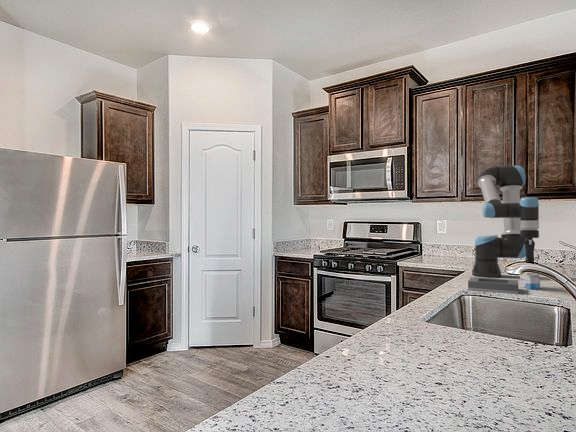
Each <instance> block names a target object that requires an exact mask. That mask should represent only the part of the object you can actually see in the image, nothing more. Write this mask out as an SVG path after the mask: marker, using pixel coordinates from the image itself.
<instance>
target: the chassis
mask: <svg viewBox="0 0 576 432" xmlns="http://www.w3.org/2000/svg"><path fill="white" fill-rule="evenodd" d="M467 290H468V291H479V292H480V291H481V292H492V293H502V294H504V293H505V294H515V295H516V294H517V295H519V280H518V279H517V280H516V279H504V278H492V277H478V276H475V277H474V276H471V277H470V278H469V279H468V281H467Z"/></svg>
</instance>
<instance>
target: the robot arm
mask: <svg viewBox="0 0 576 432" xmlns="http://www.w3.org/2000/svg"><path fill="white" fill-rule="evenodd" d="M526 179H527V177H526V172H525V168H523V166H521V165H514V164H513V165H500V166H496V165H495V166H489V167H486V168H485V169H484V170H482V171H481V172H480V173H479V175H478V177H477V180H476V181H477V186H478V188H479V189H481V194H482V197H483V201H484V203H483V205H482V216H483V217H484V218H489V219H490V218H491V219H499V218H503V232H502V233H501V235H500V236H501V237H499V236H498V234H492V235H490V234H489V235H481V236H476V238H475V240H474V241H475V242H474V247H475V248H474V249H475V251H474V255H475V257H474V260H475V261H474V264H473V267H472V270H471V275H472V276H473V277H474V276H475V277H479V278H501V277H502V270H501V268H500V265H499V258H500V259H524V258H525V262H526V261H527V262H534V263H535V246H536V245H535V244H536V241H534V239H538V238H540V230H539V229H540V220H539V218H540V216H539V215H540V213H539V212H540V211H539V209H540V208H539V206H540V204H539V198H538V197H535V196H533V197H531V196H529V197H521V196H520V195H521V194H520V191H521V190H522V189H523V186H525V185H526V181H527V180H526ZM497 187H499V190H500V192H502V200H501V197H500V194H499V191H498V188H497ZM520 197H521V198H520ZM527 276H534V273H527Z"/></svg>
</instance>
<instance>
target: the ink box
mask: <svg viewBox="0 0 576 432" xmlns="http://www.w3.org/2000/svg"><path fill="white" fill-rule="evenodd" d="M519 287H522V288H526V289H528V290H540V289H541V274H540V275H539V274H535V273H534V276H527V273H524V274H522V275H520V274H519Z"/></svg>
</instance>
